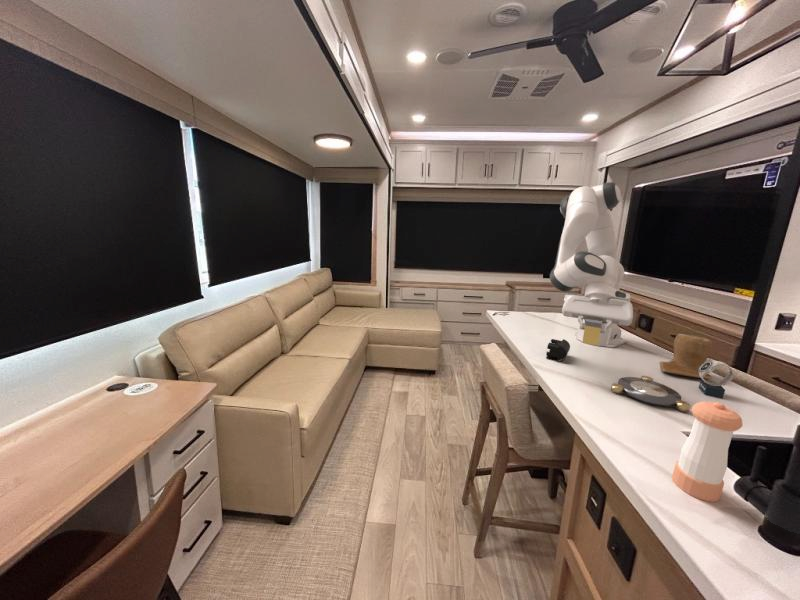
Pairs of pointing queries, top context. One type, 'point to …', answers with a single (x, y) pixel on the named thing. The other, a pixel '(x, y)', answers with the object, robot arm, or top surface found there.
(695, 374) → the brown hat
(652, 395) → the levelling base
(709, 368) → the watch
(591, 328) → the block
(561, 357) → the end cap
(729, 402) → the top surface
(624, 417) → the top surface
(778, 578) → the top surface
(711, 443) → the pepper shaker
